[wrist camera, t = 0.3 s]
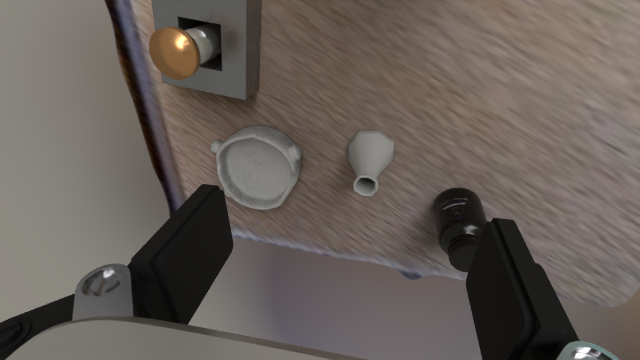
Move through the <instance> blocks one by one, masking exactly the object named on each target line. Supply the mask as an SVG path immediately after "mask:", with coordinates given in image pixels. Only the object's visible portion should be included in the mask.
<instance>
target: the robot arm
mask: <svg viewBox="0 0 640 360" xmlns="http://www.w3.org/2000/svg"><path fill="white" fill-rule="evenodd" d="M232 249H233V239H232V233H231V228H230V223H229V217H228V212H227V206H226V201H225V196H224V192H223V190H220V188H219V186H216V185H207V184H202V185H201V186H200V187H199V188H198V189H197V190H196V191H195V192H194V193H193V194H192V195H191V196H190V197H189V198H188V199H187V200H186V202H185V203H184V204H183V205H182V206H181V207H180V208H179V209H178V210H177V211H176V212H175V213H174V214H173V215H172V216H171V217H170V218H169V219H168V221H167V222H166V223H165V224H164V225H163V226H162V227H161V228H160V229H159V230H158V231H157V232H156V233H155V234H154V235H153V236H152V237H151V238H150V240H149V241H148V242H147V243H146V244H145V245H144V246H143V247H142V248H141V249H140V250H139V251H138V252H137V253H136V254H135V255H134V256H133V257H132V259H131V260H132V261H131V262H130V263H129V265H128V266H125V265H123V264H108V265H104V266H101V267H99V268H96V269H95V270H93V271H91V272H90V273H88V274H87V275H86V276H85V277H83V278H82V279H81V281H80V282H79V283H78V285H77V288H76V290H75V294H72V295H70V296H67V297H64V298H62V299H59V300H57V301H54V302H51V303H49V304H47V305H44V306H41V307H39V308H36V309H33V310H31V311H28V312H25V313H23V314H20V315H18V316H15V317H12V318H10V319H8V320H5V321H3V322H1V323H0V360H367V359H362V358H357V357H352V356H347V355H342V354H336V353H332V352H327V351H321V350H316V349H311V348H306V347H301V346H296V345H290V344H286V343H280V342H275V341H270V340H265V339H260V338H254V337H249V336H244V335H239V334H234V333H228V332H223V331H217V330H212V329H206V328H202V327H197V326H190V325H188V323H189V322H190V320H191V318H192V317H193V315H194V313H195V312H196V310H197V308H198V307H199V305H200V303H201V302H202V300H203V299H204V297H205V295H206V293H207V292H208V290H209V289H210V287H211V285H212V283H213V282H214V280H215V278H216V277H217V275H218V274H219V272H220V270H221V269H222V267H223V265H224V264H225V262H226V260H227V259H228V257H229V255H230V254H231V252H232ZM466 288H467V293H468V297H469V302H470V306H471V311H472V315H473V320H474V324H475V328H476V333H477V337H478V342H479V346H480V351H481V355H482V360H619V359H618V358H617V357H615V356H614V355H613V354H611V353H610V352H608V351H607V350H605V349H603V348H601V347H599V346H597V345H594V344H591V343H588V342H582V341H579V339H578V337H577V335H576V333H575V331H574V329H573V327H572V325H571V323H570V321H569V319H568V317H567V315H566V313H565V311H564V309H563V307H562V305H561V303H560V301H559V299H558V297H557V295H556V293H555V291H554V289H553V287H552V285H551V283H550V281H549V279H548V277H547V275H546V273H545V271H544V269H543V268H542V267H541V265H539V264H537V263H535V262H534V260H533V258H532V256H531V254H530V252H529V250H528V248H527V246H526V243H525V241H524V239H523V237H522V235H521V233H520V231H519V229H518V227H517V225H516V223H515V221H514V220H509V219H500V218H493V219H492V221H491V222H489V221H487V222H486V223H485V226H484V229H483V231H482V234H481V237H480V240H479V243H478V246H477V249H476V252H475V255H474V258H473V260H472V263H471V266H470V269H469V272H468V275H467V278H466Z"/></svg>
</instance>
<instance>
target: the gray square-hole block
mask: <svg viewBox="0 0 640 360" xmlns="http://www.w3.org/2000/svg"><path fill="white" fill-rule="evenodd" d="M151 1H152V8H153V16H154V23H155V30H156V31H157V30H158V29H161V28H166V27H171V26H173V27H178V28H181V29H183V30H187V29H191V28H195V27H199V20H200V21H205V22H210V23H216V24H221V46H222V60H221V59H216V58H213V59H211V60H209V61H207V62H204V63H202V64H200V67H199V69H198V71H197V72H196V73H195V74H194V75H192V76H190V77H188V78H186V79H182V80H176V79H172V78H169V77H167V76H166V75H164V74H163V73H162V72H161V75H162V82H163V83H166V84H170V85H175V86H180V87H185V88H190V89H194V90H199V91H204V92H209V93H214V94H218V95H223V96H228V97H233V98H238V99H242V100H246V99H248V98H249V97H250V96H251V95H252V94H254V93H255V92H256V91H257V90H259V68H260V36H261V4H262V0H151Z"/></svg>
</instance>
